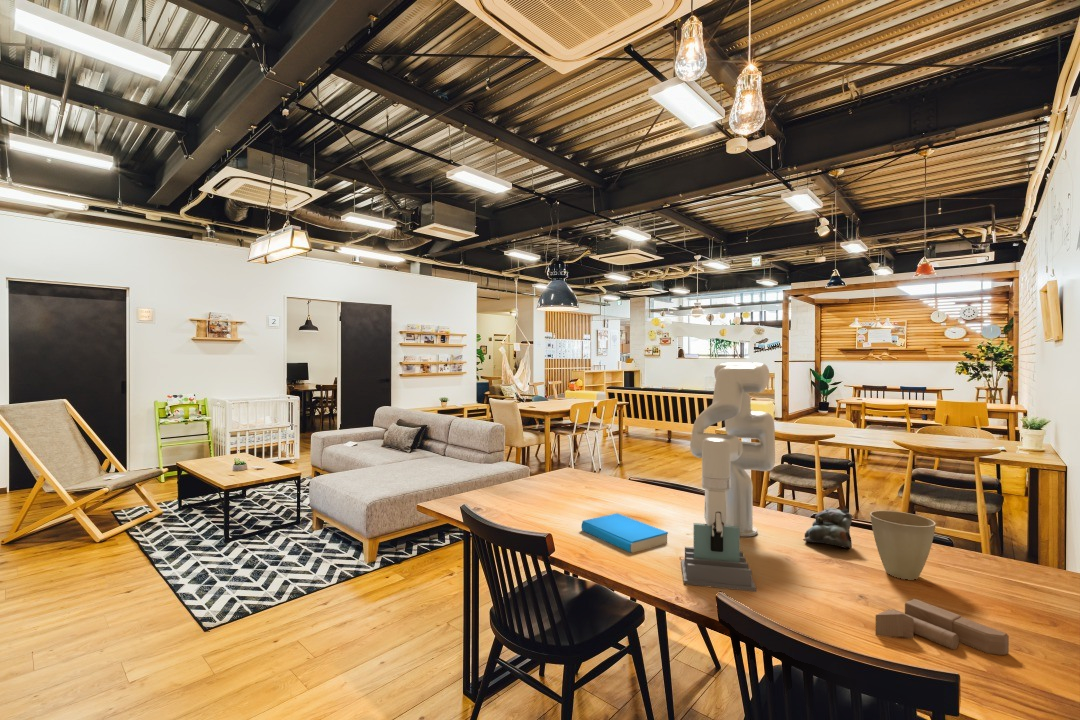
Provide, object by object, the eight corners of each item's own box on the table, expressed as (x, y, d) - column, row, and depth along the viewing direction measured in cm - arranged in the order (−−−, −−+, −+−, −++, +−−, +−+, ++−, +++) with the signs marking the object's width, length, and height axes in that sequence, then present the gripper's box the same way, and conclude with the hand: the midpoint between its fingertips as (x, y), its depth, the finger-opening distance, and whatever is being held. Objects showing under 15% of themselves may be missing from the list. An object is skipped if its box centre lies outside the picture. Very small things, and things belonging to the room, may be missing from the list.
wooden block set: (910, 592, 117) (1009, 627, 102) (910, 616, 117) (1009, 655, 101) (870, 608, 109) (971, 650, 93) (870, 634, 109) (971, 680, 93)
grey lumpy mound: (794, 539, 167) (800, 499, 172) (824, 552, 168) (829, 512, 173) (829, 541, 153) (835, 497, 158) (862, 555, 154) (866, 511, 159)
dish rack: (681, 562, 147) (681, 545, 147) (745, 568, 143) (745, 550, 143) (684, 584, 133) (684, 565, 133) (756, 591, 129) (756, 572, 129)
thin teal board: (693, 568, 140) (693, 522, 140) (738, 573, 138) (738, 526, 138) (693, 571, 139) (693, 524, 139) (739, 575, 136) (739, 527, 136)
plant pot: (945, 590, 130) (945, 529, 130) (878, 581, 135) (878, 522, 135) (923, 568, 144) (923, 513, 144) (864, 561, 149) (863, 507, 149)
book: (616, 513, 185) (668, 530, 164) (616, 524, 185) (668, 544, 164) (580, 520, 175) (630, 540, 155) (580, 533, 175) (630, 554, 154)
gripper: (699, 475, 147) (699, 537, 147) (704, 489, 131) (704, 558, 131) (726, 477, 145) (726, 540, 145) (734, 490, 130) (735, 561, 129)
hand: (716, 548), depth 138 cm, fingers open, 2 cm apart
